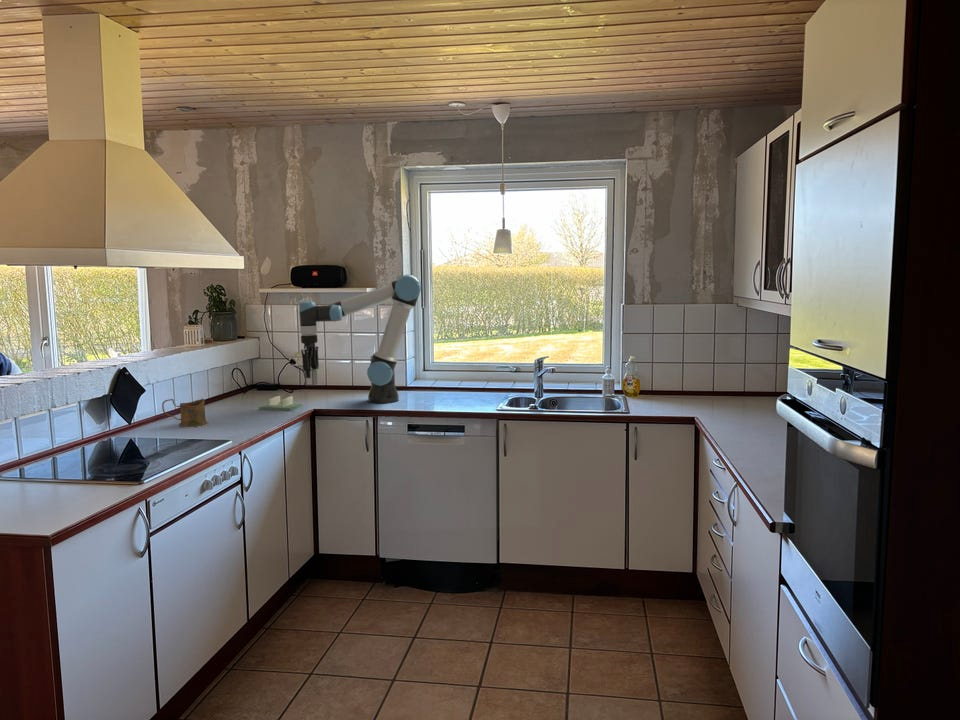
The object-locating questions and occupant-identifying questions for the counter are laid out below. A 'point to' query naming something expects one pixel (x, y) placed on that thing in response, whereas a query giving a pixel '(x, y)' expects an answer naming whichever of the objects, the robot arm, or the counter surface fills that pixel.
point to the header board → (280, 404)
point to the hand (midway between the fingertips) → (311, 383)
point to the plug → (314, 376)
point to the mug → (191, 413)
